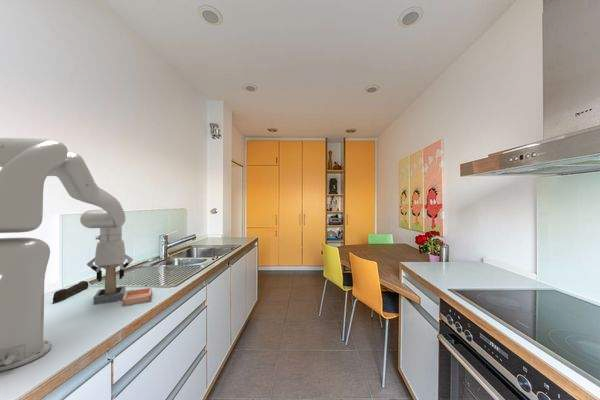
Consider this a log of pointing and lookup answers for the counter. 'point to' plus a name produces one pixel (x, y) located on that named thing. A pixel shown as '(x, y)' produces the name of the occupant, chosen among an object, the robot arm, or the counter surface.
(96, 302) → the collar
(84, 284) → the hand tool
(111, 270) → the handle
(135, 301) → the tray
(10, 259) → the robot arm
